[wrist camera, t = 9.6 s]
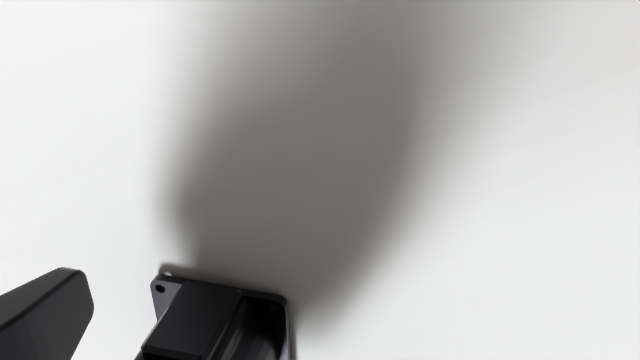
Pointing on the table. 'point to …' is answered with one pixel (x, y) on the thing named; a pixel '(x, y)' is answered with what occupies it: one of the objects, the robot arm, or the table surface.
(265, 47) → the table surface
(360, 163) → the table surface
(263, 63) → the table surface
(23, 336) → the robot arm
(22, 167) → the table surface
